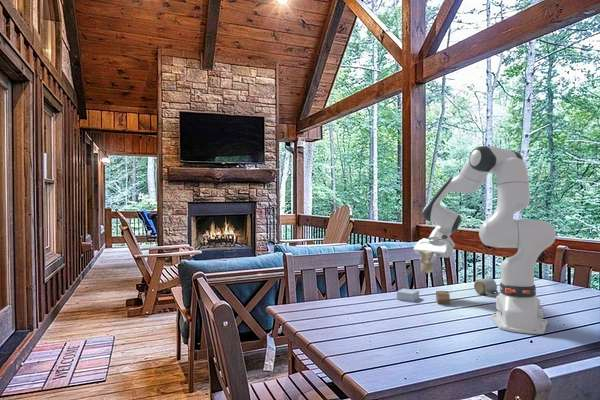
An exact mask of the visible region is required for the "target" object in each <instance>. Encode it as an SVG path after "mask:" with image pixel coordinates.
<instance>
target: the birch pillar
mask: <svg viewBox="0 0 600 400" xmlns="http://www.w3.org/2000/svg"><path fill="white" fill-rule="evenodd" d="M419 255H420V257H421V261H420V272H421V273H424V274H425V273H426V274H429V273H430V274H431V273H434V262H433V263H430V262H429V258H432V257H433V256H432V252H429V251H422V252H420V254H419Z"/></svg>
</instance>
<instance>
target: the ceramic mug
mask: <svg viewBox="0 0 600 400" xmlns="http://www.w3.org/2000/svg"><path fill="white" fill-rule="evenodd" d="M473 288H474V291H475V292H476V293H477V294H478V295H487V296H489V297H493V298H496V297H497V296H498V295H499V291H498V285H497V282H496V281H495V280H494V279H493V278H492V277H485V278H481V279H478V280H476V281H474V284H473Z"/></svg>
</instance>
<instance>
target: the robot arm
mask: <svg viewBox="0 0 600 400" xmlns="http://www.w3.org/2000/svg"><path fill="white" fill-rule="evenodd" d="M489 174H493V175H495V176H496V182H497V184H496V185H497V201H496V203H497V204H496V207H495V208H494V209H495V210H494V212H492V215H491V216H490V217H489V218H488V219H487V220H485V221H484V222H483V223H482V224H481V225H480V227H479V230H478V236H479V239H480V241H481V242H482V244H483V245H484V246H487V247H488V246H489V247H492V248H499V249H500V248H502V249H503V248H505V249H517V252H516V253H515V254H514V255H511V256H509V257H507V258H505V259H504V260H503V261H502V262H501V264H500V282H499V292H500V293H498V296H496V297H495V307H496V308H495V312H496V313H493V314H491V315H490V318H491V319H492V321H493V322H494V323H495V325H496V326H497V328H498V329H500V330H504V331H507V332H514V333H519V334H521V333H522V334H530V335H533V334H534V335H544V334H545V332H546V330H547V326H548V320H547V319H544V317H545V312H544V310H542V309H543V305H541V300H540V298H538V296H536V295H537V287H536V284H535V267H536V263H537V260H538V258H539V257H540V255H541V254H542V253H543V252H544V251H545V250H546V249H548V248H550V247H551V246H552V245H553V244H554V243H555V240H556V237H557V236H556V234H557V233H556V229H555V227H554V226H553V224H551V222H549V221H546V220H542V219H541V220H540V219H516V218H514V215H515V214H516V213H519V212H520V211H523V210H524V209H526V208H527V207H529V205H530V203H531V193H530V181H529V174H528V170H527V165H526V163H525V161H524V158H523V156H522V154H520V153H519V152H518V151H515V150H512V149H506V148H501V147H497V146H487V145H481V146H476V147H474V148H473V149H472V150H471V152H470V154H469V157H468V158H467V160H466V161H465V163H464V164H463V166H462V167H461V169H460V171H459V173H458V174H457V175H455V176H453V177H449V178H448V179H446V181H445V182H444V183H443V184H442V186H440V188H439V189H438V191H437V192H436V194H434V196H433V197H432V199H431V200H430V201H429V202H428V203H427V204H426V205H425V206H424V208H423V209H422V213H421V215H422V217H423V218H424V221H427V222H429V223H432V224H435V227H434V229H433V230H432V231H431V233H430V234H429V236H428V237H427V238H422V239H420V240H418V241H417V242H416V244H415V245H414V247H413V249H412V250H413V252H414V253H415V254H416V255H420V252H422V251H429V252H432V258H429V262H430V263H433V264H434V261H436V260H437V259H438V258H445V259H446V258H447V259H448V258H449V257H451V255H452V253H453V251H454V249H455V247H456V243H455V242H454V241H453V239H452V238H451V235H452V234H454V233H456V232H457V231H458V228H459V227H460V225H461V223H462V222H463V220H462V216H461V214H460V213H457V212H456V211H454V210H452V209H449V208H446V207H445V206H443V205H442V204H440V203H441V201H442V200H443V199H444V198H445V196H446V195H448V194H449V193H456V194H457V193H459V194H473V193H475V192H477V191H478V190H479V189H480V188H481V187H482V185H483V184H484V182H485V180H486V178H487V177H488V175H489ZM419 261H420V262H421V256H420V257H419Z"/></svg>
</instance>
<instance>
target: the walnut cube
mask: <svg viewBox="0 0 600 400" xmlns="http://www.w3.org/2000/svg"><path fill="white" fill-rule="evenodd" d="M435 294H436V295H435V296H436V297H435V301H436V303H437V305H444V306H445V305H450V304H451V303H450V302H451V301H450V300H451V298H450V297H451V295H450V293H449V291H448V290H436V291H435Z"/></svg>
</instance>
